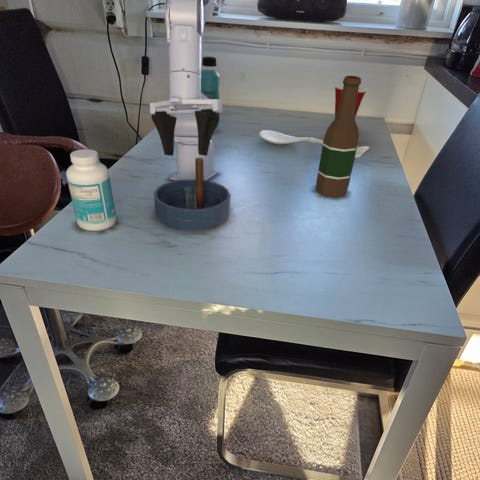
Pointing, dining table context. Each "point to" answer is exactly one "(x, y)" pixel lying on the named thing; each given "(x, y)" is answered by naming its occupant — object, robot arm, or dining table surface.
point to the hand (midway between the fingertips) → (185, 155)
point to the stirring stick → (199, 182)
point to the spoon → (297, 140)
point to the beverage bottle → (210, 80)
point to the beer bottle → (340, 144)
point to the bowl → (191, 204)
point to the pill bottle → (91, 191)
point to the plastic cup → (339, 91)
